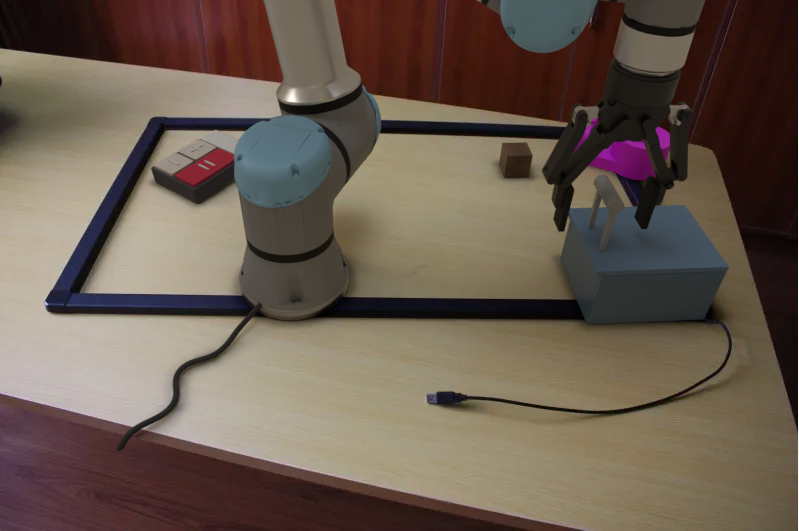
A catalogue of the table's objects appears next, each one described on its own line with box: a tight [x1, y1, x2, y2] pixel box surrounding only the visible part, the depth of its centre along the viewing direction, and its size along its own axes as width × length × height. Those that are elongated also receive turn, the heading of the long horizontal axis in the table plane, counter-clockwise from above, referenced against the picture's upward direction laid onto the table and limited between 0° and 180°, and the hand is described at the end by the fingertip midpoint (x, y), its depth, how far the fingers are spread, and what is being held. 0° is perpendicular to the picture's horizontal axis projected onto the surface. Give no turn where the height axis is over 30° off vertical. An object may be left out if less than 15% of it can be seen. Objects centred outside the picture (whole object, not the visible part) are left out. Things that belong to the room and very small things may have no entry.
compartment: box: [559, 220, 727, 325], centre depth 90 cm, size 17×14×9 cm
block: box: [498, 141, 534, 179], centre depth 115 cm, size 4×4×4 cm
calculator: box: [150, 129, 240, 205], centre depth 111 cm, size 11×4×15 cm
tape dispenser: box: [573, 118, 670, 181], centre depth 118 cm, size 16×10×6 cm, turn 62°
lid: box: [568, 174, 730, 276], centre depth 84 cm, size 17×14×9 cm
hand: (599, 224), depth 85 cm, fingers open, 10 cm apart
